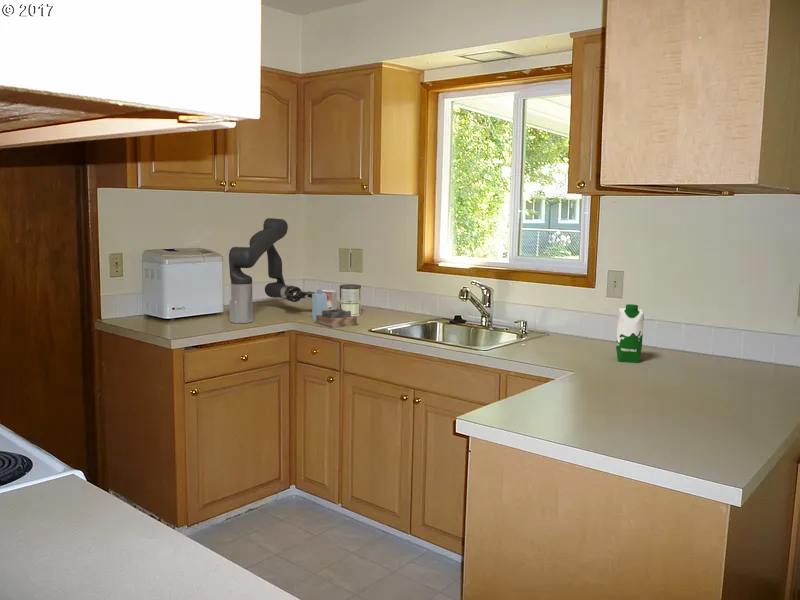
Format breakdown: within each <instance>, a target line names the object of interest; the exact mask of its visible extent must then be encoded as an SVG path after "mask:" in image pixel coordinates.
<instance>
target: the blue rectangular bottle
mask: <svg viewBox="0 0 800 600" xmlns="http://www.w3.org/2000/svg"><path fill="white" fill-rule="evenodd" d="M322 290H323V289H316V292H315V294H312V299H311V320H312V321H314V322H316V315H322V311H323V310H327V294H325V293H322Z"/></svg>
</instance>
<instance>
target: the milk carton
mask: <svg viewBox="0 0 800 600" xmlns="http://www.w3.org/2000/svg"><path fill="white" fill-rule="evenodd" d="M644 318H645V316H644V312H643V309H641V308H639V305H637V304H630V303H628V304H625V308H623V307H622V308H621V307H619V310H618V313H617V321H616V335H615V336H616V337H615V348H616V349H615V350H616V357H617V362H622V363H636V364H639V363H640V359H641V356H642V355H641V353H642V349H643V335H644V320H645V319H644Z"/></svg>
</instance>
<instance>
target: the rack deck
mask: <svg viewBox="0 0 800 600" xmlns="http://www.w3.org/2000/svg"><path fill="white" fill-rule="evenodd" d="M357 320H358V316H351V311H344V310H343V309H340V308H336V309H334V310H323V311H322V315H316V321H314V322H313V323H314V324H317V325H320V326H324V327H328V328H331V329H333V328H334V329H335V328H344V327H351V326H352V327H353V326H359V325H360V323H357V322H358V321H357Z"/></svg>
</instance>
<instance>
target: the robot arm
mask: <svg viewBox="0 0 800 600" xmlns="http://www.w3.org/2000/svg"><path fill="white" fill-rule="evenodd" d="M262 228H263V229H261V230H259V231H257V232H255V233H254V234H253V235H252V236H251V237H250V239H249V243H248V245H249V246H233V247H231V248H230V249H229V252H228V267H229V277H230V300H229V303H228V304H229V322H231V323H233V324H249V323H252V322H254V320H253V319H254V317H253V316H254V315H253V314H254V311H253V278H252V276H250V275H248V274H246V273H244V271H242V269H250V268H253V267H254V266H255V265H256V264H257V262H258V261H259V259H260V258H261V257H262V256H263V255H264V254H265V253H266V256H267V275H268V278H270V279H275V280H276V282H275V281H274V282H269V283H267V284H266V285H265V286H264V292H265V294H266V296H267V297H270V298H279V299H280V298H281V299H284V300H285V301H289V302H292V303H297V302H300V301H301V300H308V299H311V300H312V294H315V293H316V292H314V291H310V290H308V291H304V290H302V289H301V288H300V287H299V286H294V285H291V284H286V283H285V279H284V276H283V261H282V258H281V255H280V254H279V252H278V250H277V248H276V247H275V243H276V242H278V241H279V240H281V239H283V238H284V237H285V236H286V235H287V233H288V230H289V225H288V222H287V221H286V220H285V219H283V218H274V217H273V218H271V217H268V218H266V219H265V220H264V221H263V226H262Z"/></svg>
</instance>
